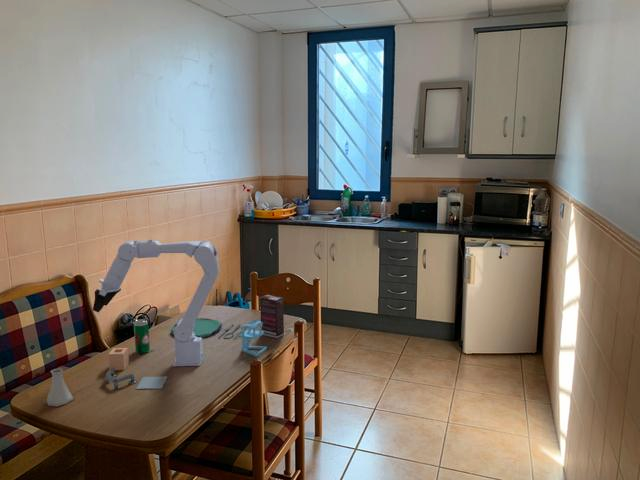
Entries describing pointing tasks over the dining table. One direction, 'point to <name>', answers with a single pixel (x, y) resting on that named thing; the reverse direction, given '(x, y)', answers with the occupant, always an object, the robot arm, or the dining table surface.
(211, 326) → the cutlery set
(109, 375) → the bent jointed bar linkage
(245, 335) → the chair
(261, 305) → the supplement box
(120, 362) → the pink block with hole
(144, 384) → the mat
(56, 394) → the flask
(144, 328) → the soda can
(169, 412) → the dining table surface
